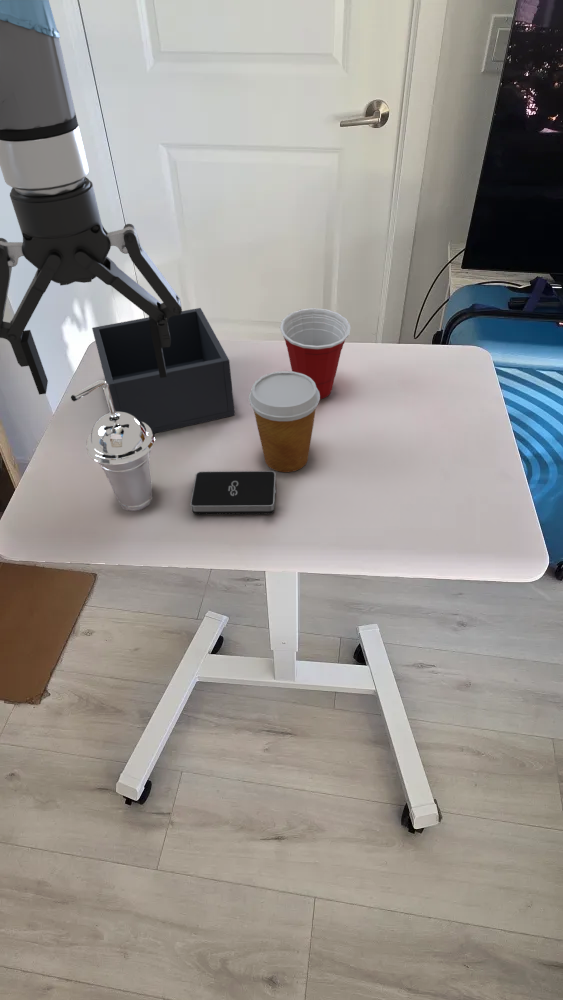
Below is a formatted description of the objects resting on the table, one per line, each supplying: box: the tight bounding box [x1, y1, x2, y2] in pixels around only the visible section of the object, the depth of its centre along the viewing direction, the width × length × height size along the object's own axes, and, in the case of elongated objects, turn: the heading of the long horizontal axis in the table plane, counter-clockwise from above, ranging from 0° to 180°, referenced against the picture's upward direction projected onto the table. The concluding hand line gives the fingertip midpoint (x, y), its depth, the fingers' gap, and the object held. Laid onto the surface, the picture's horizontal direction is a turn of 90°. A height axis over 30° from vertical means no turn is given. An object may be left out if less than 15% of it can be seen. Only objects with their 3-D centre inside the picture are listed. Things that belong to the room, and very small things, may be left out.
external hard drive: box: [190, 470, 277, 516], centre depth 84 cm, size 7×11×2 cm, turn 89°
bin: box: [91, 307, 236, 434], centre depth 100 cm, size 18×18×10 cm
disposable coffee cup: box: [248, 370, 321, 473], centre depth 87 cm, size 10×10×12 cm
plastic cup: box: [279, 307, 352, 400], centre depth 99 cm, size 11×11×12 cm
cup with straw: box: [70, 379, 156, 512], centre depth 78 cm, size 8×9×20 cm
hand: (103, 379), depth 72 cm, fingers open, 13 cm apart
